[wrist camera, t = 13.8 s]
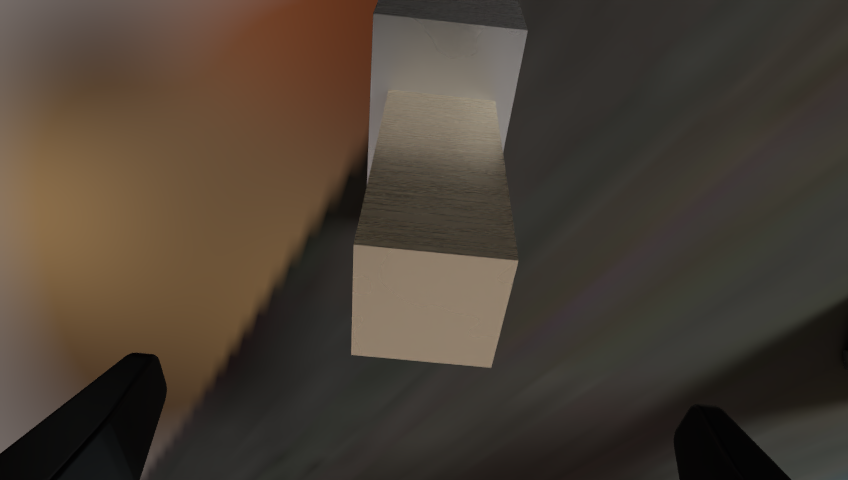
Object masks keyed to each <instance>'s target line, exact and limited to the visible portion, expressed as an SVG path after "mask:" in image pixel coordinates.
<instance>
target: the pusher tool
mask: <svg viewBox="0 0 848 480" xmlns="http://www.w3.org/2000/svg"><path fill="white" fill-rule="evenodd" d="M527 31H528V30H527V27H526V24H525V21H524V18H523V15H522V12H521V9H520V6H519V3H518V0H378V3H377V5H376V8H375V11H374V13H373V35H372V36H373V37H372V62H371V89H370V116H369V143H368V170H367V188H366V192H365V197H364V201H363V206H362V210H361V214H360V219H359V223H358V228H357V232H356V237H355V241H354V256H353V302H352V348H351V355H360V356H370V357H381V358H392V359H403V360H414V361H424V362H435V363H446V364H457V365H467V366H478V367H489V368H491V366H492V362H493V358H494V354H495V351H496V347H497V343H498V339H499V335H500V331H501V327H502V323H503V319H504V315H505V311H506V308H507V304H508V300H509V296H510V292H511V288H512V284H513V280H514V276H515V272H516V268H517V265H518V254H517V247H516V240H515V233H514V227H513V220H512V213H511V206H510V199H509V192H508V185H507V178H506V171H505V164H504V157H503V150H504V145H505V140H506V135H507V130H508V125H509V120H510V115H511V110H512V105H513V100H514V95H515V90H516V85H517V80H518V76H519V71H520V66H521V61H522V56H523V51H524V46H525V41H526V36H527Z"/></svg>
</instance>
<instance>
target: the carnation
mask: <svg viewBox="0 0 848 480" xmlns="http://www.w3.org/2000/svg"><path fill="white" fill-rule="evenodd" d="M843 357H844V361H845V362H843V364H844V368H845V369H847V370H848V352H847V351H846V350H844V352H843Z"/></svg>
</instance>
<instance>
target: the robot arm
mask: <svg viewBox="0 0 848 480" xmlns="http://www.w3.org/2000/svg"><path fill="white" fill-rule="evenodd" d="M166 392H167V387H166V382H165V378H164V375H163V372H162V368H161V364H160V361H159V359H158V357H157V356H155V355H154V354H144V353H131V354H129V355H127V356H125V357H124V358H123V359H121V360H120V361H119V362H117V363H116V364H115V365H114V366H112V367H111V368H110V369H108V370H107V371H106V372H105V373H103V374H102V375H101V376H99V377H98V378H97V379H96V380H94V381H93V382H92V383H90V384H89V385H88V386H87V387H85V388H84V389H83V390H81V391H80V392H79V393H78V394H77V395H75V396H74V397H73V398H71V399H70V400H69V401H67V402H66V403H65V404H63V405H62V406H61V407H60V408H58V409H57V410H56V411H54V412H53V413H52V414H51V415H49V416H48V417H47V418H45V419H44V420H43V421H42V422H40V423H39V424H38V425H36V426H35V427H34V428H33V429H31V430H30V431H29V432H28V433H26V434H25V435H24V436H23V437H21V438H20V439H18V440H17V441H16V442H15V443H13V444H12V445H11V446H9V447H8V448H7V449H6V450H4V451H3V452H2V453H0V480H140V477H141V474H142V471H143V468H144V465H145V462H146V459H147V455H148V452H149V449H150V446H151V443H152V440H153V437H154V433H155V430H156V427H157V424H158V421H159V418H160V414H161V411H162V408H163V405H164V402H165V398H166ZM674 449H675V455H676V461H677V467H678V473H679V479H680V480H791V479H790V478H789V477H788V476H787V475H786V474H785V473H784V472H783V471H782V470H781V469H780V468H779V467H778V466H777V465H776V464H775V463H774V461H773V460H772V459H771V458H770V457H769V456H768V455H767V454H766V453H765V452H764V451H763V450H762V449H761V448H760V447H759V446H758V445H757V444H756V443H755V442H754V441H753V440H752V439H751V438H750V437H749V436H748V435H747V434H746V433H745V432H744V431H743V430H742V429H741V428H740V427H739V426H738V425H737V424H736V423H735V422H734V421H733V420H732V419H731V418H730V417H729V416H728V415H727V414H726V413H725V412H724V411H723V410H722V409H721V408H719V407H717V406H712V405H701V404H695V405H693V406H691V407H690V408H689V410H688V412H687V413H686V415H685V416H684V418H683V420H682V421H681V423H680V424H679V426H678V428H677V429H676V431H675V435H674Z"/></svg>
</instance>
